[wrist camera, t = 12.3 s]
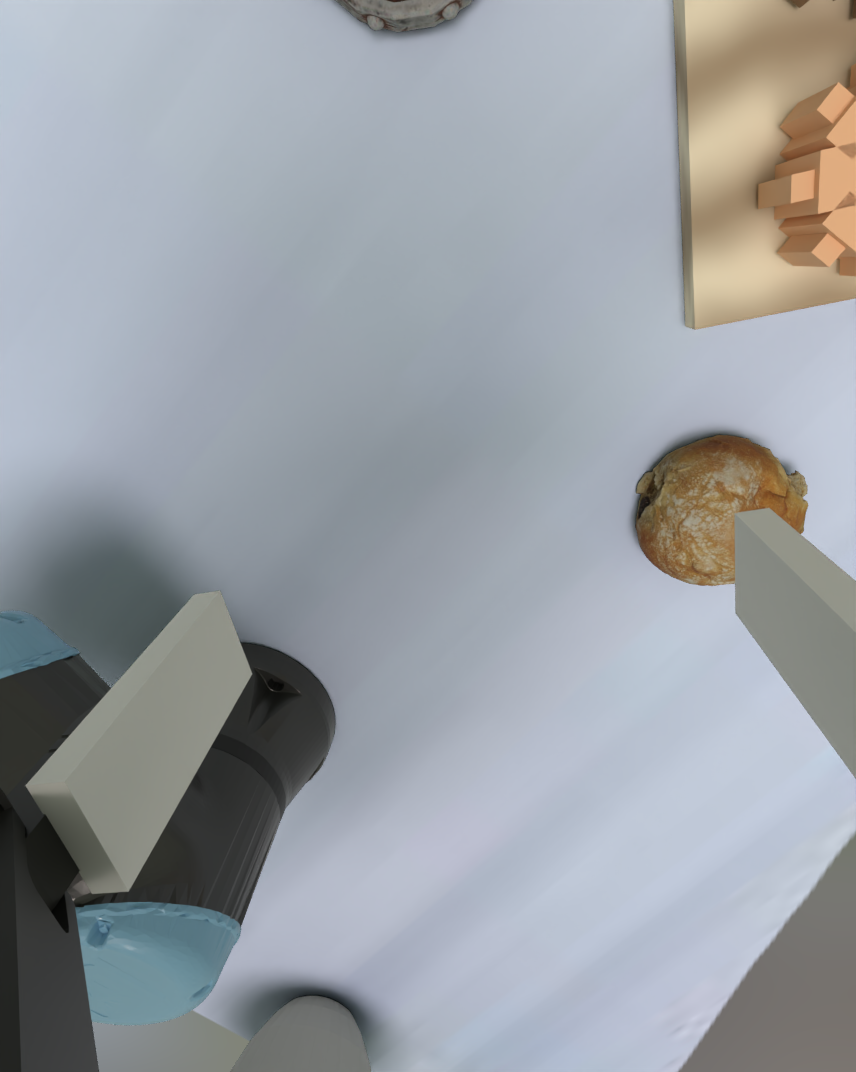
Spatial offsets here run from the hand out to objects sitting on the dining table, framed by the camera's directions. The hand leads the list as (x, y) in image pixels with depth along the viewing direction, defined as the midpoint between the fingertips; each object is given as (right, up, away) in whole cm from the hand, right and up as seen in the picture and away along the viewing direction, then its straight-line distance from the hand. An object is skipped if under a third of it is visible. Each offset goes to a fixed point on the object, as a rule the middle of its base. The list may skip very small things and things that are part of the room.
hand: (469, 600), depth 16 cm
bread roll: (+19, +4, +27) cm, 33 cm away
